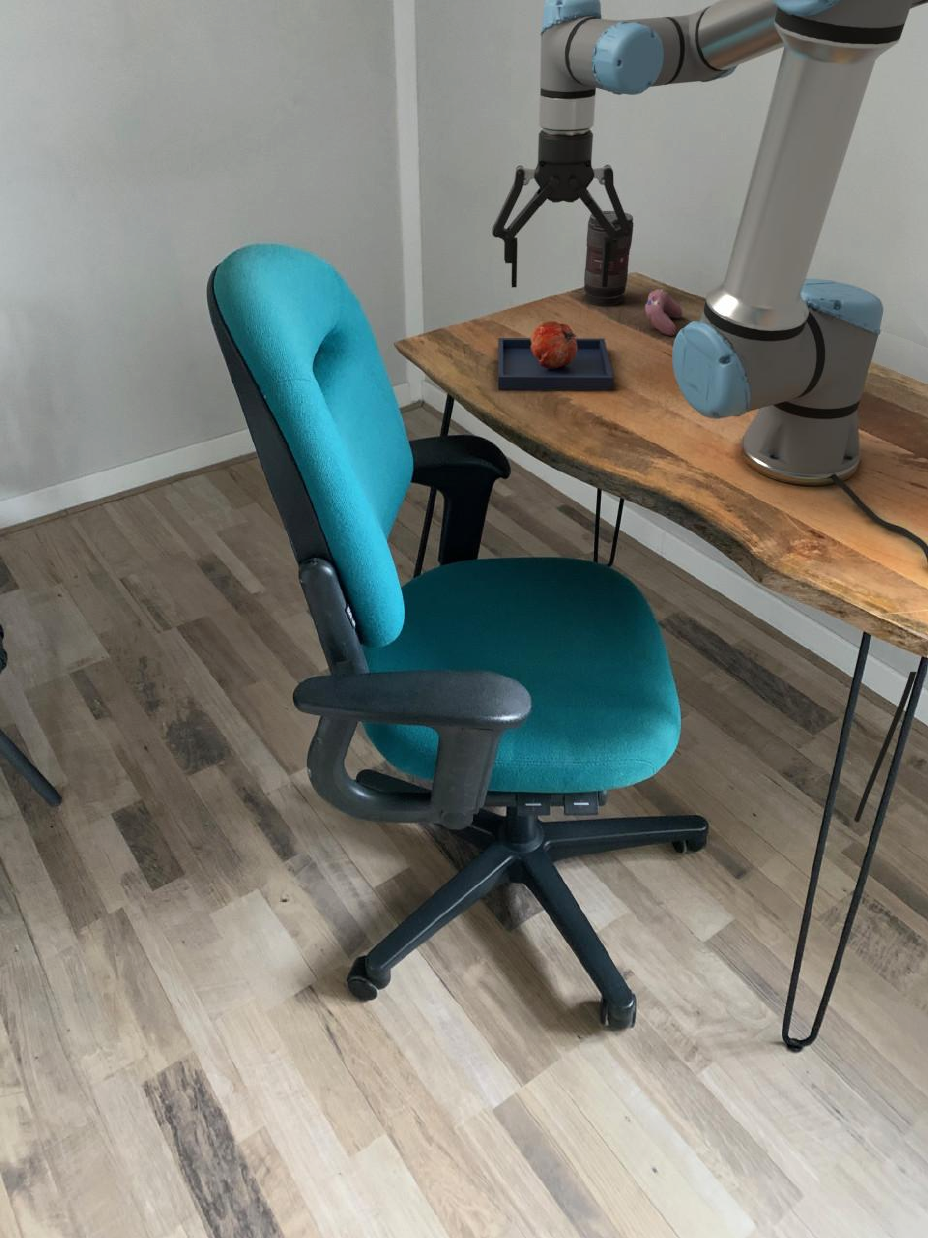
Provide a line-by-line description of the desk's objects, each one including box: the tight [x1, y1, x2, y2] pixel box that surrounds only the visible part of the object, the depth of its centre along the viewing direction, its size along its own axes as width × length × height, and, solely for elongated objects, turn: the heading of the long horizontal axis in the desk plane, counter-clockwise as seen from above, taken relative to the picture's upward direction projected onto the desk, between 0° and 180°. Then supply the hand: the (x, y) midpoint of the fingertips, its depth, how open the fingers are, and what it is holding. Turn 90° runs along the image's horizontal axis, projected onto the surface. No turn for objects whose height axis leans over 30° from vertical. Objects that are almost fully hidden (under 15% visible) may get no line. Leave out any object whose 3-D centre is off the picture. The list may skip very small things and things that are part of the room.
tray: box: [497, 337, 614, 391], centre depth 152 cm, size 16×18×2 cm
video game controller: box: [644, 288, 683, 337], centre depth 166 cm, size 10×5×7 cm, turn 162°
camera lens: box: [583, 210, 635, 307], centre depth 173 cm, size 8×8×15 cm
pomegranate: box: [529, 320, 577, 369], centre depth 150 cm, size 7×7×10 cm
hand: (558, 284), depth 144 cm, fingers open, 13 cm apart
